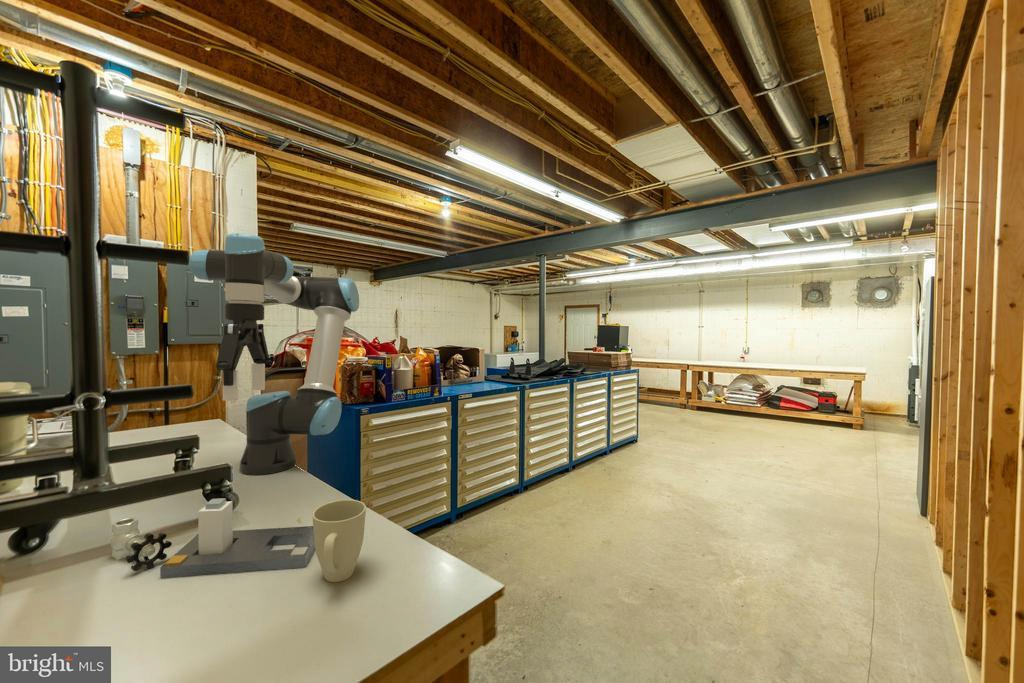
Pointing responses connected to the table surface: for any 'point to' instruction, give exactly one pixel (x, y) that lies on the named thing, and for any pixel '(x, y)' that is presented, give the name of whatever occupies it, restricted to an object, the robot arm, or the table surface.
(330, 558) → the mug
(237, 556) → the grey slotted tray
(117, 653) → the table surface
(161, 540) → the valve
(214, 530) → the plug
